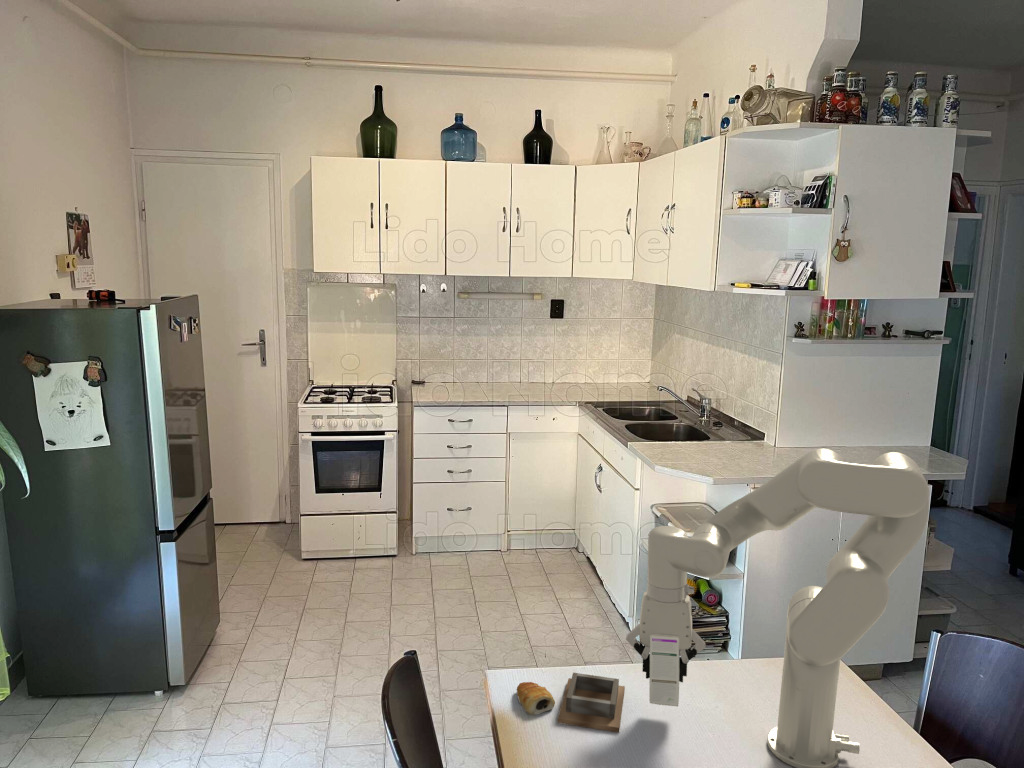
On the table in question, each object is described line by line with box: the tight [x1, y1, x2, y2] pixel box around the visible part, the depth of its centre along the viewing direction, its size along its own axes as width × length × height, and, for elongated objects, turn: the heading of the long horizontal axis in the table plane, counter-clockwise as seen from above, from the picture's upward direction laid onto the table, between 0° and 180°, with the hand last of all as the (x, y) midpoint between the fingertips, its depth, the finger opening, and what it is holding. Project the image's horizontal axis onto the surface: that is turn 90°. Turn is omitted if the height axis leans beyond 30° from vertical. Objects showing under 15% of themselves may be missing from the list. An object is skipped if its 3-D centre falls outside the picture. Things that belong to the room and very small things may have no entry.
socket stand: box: [557, 672, 626, 733], centre depth 153 cm, size 12×15×4 cm
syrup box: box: [649, 634, 681, 707], centre depth 149 cm, size 6×6×14 cm
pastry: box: [516, 681, 556, 716], centre depth 155 cm, size 9×7×4 cm
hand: (664, 676), depth 149 cm, fingers closed on syrup box, 5 cm apart
